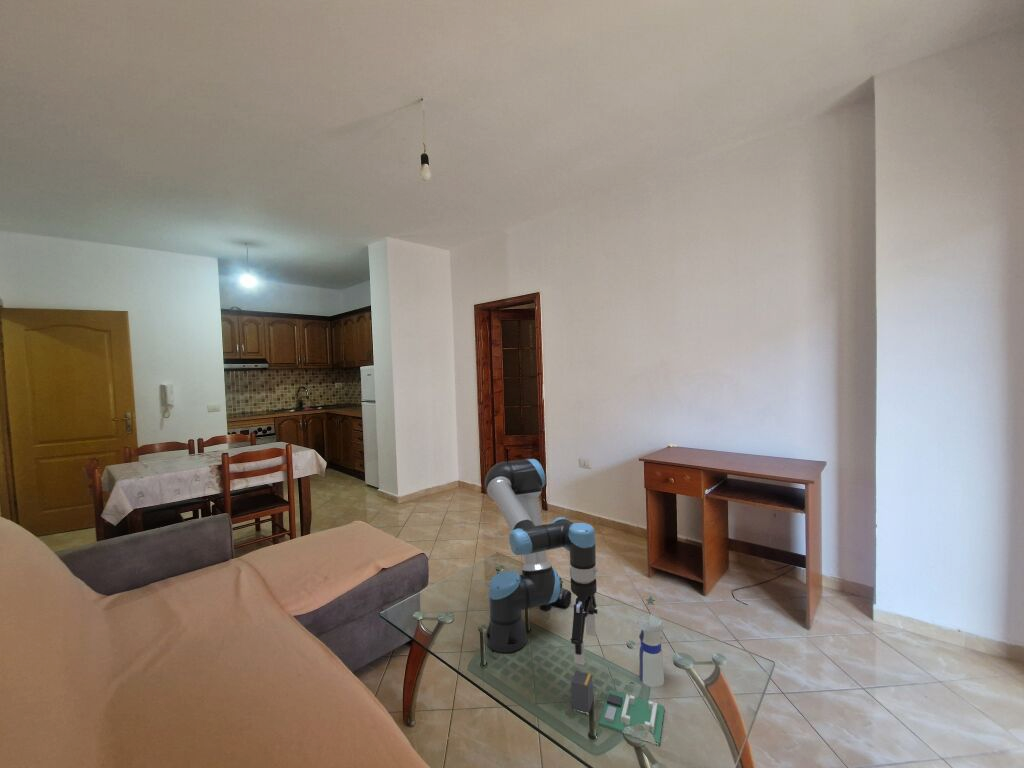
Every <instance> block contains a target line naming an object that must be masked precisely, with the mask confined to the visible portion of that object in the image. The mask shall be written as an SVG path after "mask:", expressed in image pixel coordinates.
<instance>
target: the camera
mask: <svg viewBox="0 0 1024 768" xmlns="http://www.w3.org/2000/svg"><path fill="white" fill-rule="evenodd" d="M558 577H559V579H560V594H559V597H558V599H557V600H556V601H555V602H552V603H549V604H547V605H541V606H539V607H540V610H541V611H542V612H546V611H549V610H550V609H552V607H554V606H559V607H560V606H561V607H569V605H570V604H571V602H572V593H571V592H572V591H570V590H568V589H566V588H564V587H563V583H564V581H563V579H562V576H561V575H558Z"/></svg>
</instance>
